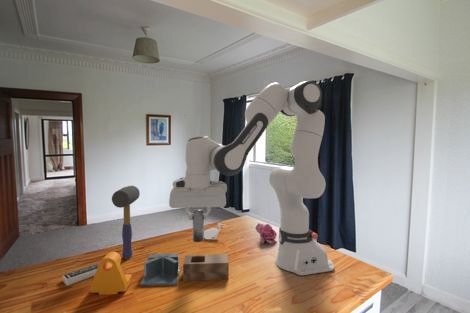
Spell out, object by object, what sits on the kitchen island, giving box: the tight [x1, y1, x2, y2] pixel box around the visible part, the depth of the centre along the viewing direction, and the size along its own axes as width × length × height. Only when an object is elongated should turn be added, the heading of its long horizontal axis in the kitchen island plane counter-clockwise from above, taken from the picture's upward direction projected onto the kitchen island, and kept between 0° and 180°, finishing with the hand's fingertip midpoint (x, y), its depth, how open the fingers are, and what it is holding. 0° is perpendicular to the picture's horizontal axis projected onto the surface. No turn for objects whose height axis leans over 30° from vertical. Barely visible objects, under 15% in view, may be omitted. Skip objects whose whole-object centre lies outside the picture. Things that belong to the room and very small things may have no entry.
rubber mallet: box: [111, 185, 141, 260], centre depth 107 cm, size 12×8×30 cm, turn 0°
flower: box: [255, 223, 278, 245], centre depth 127 cm, size 11×10×10 cm
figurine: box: [204, 222, 228, 240], centre depth 129 cm, size 14×4×9 cm, turn 93°
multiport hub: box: [62, 262, 100, 286], centre depth 94 cm, size 4×14×2 cm, turn 138°
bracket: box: [89, 251, 133, 296], centre depth 86 cm, size 11×7×12 cm, turn 95°
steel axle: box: [192, 208, 205, 243], centre depth 94 cm, size 4×4×11 cm
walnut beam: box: [182, 253, 230, 282], centre depth 95 cm, size 16×7×6 cm, turn 95°
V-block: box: [139, 252, 182, 288], centre depth 93 cm, size 12×12×6 cm
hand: (198, 219), depth 93 cm, fingers closed on steel axle, 4 cm apart
